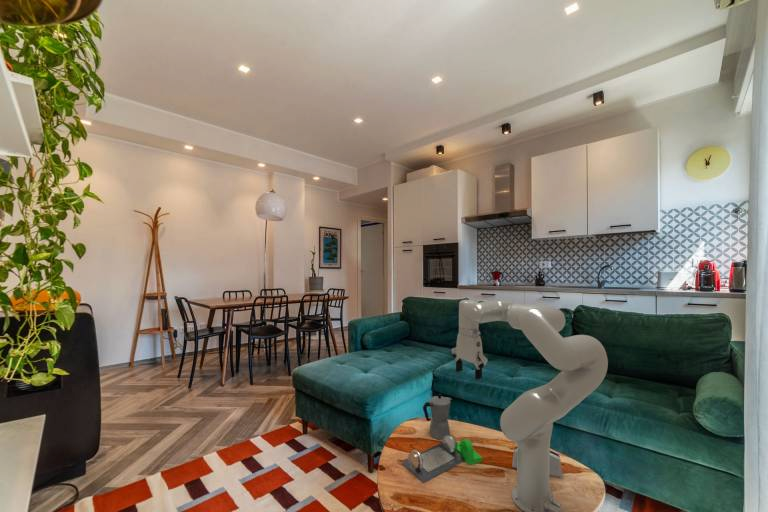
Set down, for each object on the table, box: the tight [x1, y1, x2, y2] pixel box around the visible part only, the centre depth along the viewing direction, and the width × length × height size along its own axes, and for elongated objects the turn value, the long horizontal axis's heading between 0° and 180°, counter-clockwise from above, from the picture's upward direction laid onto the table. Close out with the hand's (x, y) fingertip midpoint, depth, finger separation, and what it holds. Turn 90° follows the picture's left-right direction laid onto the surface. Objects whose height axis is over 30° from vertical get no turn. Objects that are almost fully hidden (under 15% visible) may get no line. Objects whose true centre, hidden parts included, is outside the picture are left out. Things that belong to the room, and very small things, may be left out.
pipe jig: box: [402, 434, 465, 483], centre depth 124 cm, size 21×12×8 cm, turn 125°
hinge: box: [511, 444, 564, 479], centre depth 119 cm, size 17×5×10 cm, turn 70°
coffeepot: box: [422, 393, 453, 441], centre depth 144 cm, size 15×9×18 cm, turn 117°
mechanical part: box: [455, 438, 483, 466], centre depth 129 cm, size 12×6×8 cm, turn 20°
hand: (468, 374), depth 128 cm, fingers open, 9 cm apart
